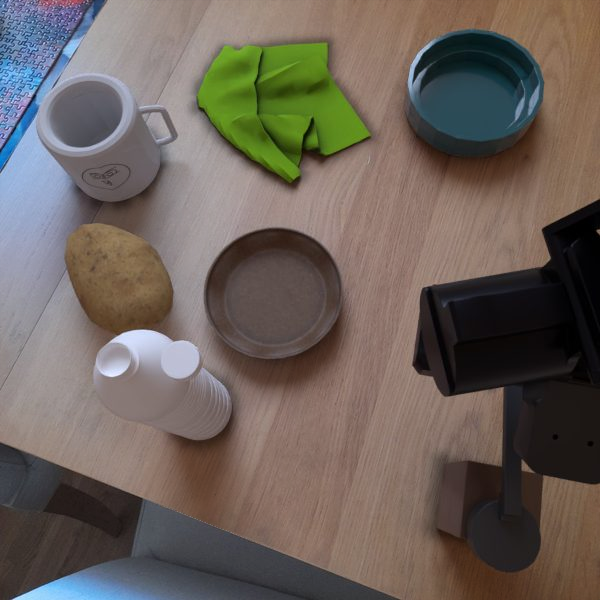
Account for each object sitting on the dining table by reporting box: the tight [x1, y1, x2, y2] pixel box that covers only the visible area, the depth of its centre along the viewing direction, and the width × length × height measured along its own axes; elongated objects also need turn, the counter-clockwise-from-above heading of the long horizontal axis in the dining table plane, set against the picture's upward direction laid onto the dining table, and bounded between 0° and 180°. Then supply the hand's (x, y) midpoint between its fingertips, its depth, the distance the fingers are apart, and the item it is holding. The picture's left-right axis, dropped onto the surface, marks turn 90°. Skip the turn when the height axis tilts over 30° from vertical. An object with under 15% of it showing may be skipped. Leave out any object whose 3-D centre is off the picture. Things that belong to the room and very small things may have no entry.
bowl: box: [403, 28, 545, 159], centre depth 66 cm, size 15×15×4 cm
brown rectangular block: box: [436, 459, 544, 541], centre depth 50 cm, size 6×6×10 cm
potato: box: [64, 222, 175, 336], centre depth 60 cm, size 10×14×8 cm
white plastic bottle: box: [92, 329, 233, 441], centre depth 47 cm, size 9×6×25 cm
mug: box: [35, 72, 179, 203], centre depth 64 cm, size 14×11×10 cm
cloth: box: [196, 42, 372, 185], centre depth 68 cm, size 20×22×2 cm
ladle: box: [465, 385, 542, 574], centre depth 44 cm, size 16×5×4 cm, turn 173°
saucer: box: [203, 226, 344, 360], centre depth 61 cm, size 15×15×3 cm
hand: (518, 373), depth 46 cm, fingers open, 7 cm apart
